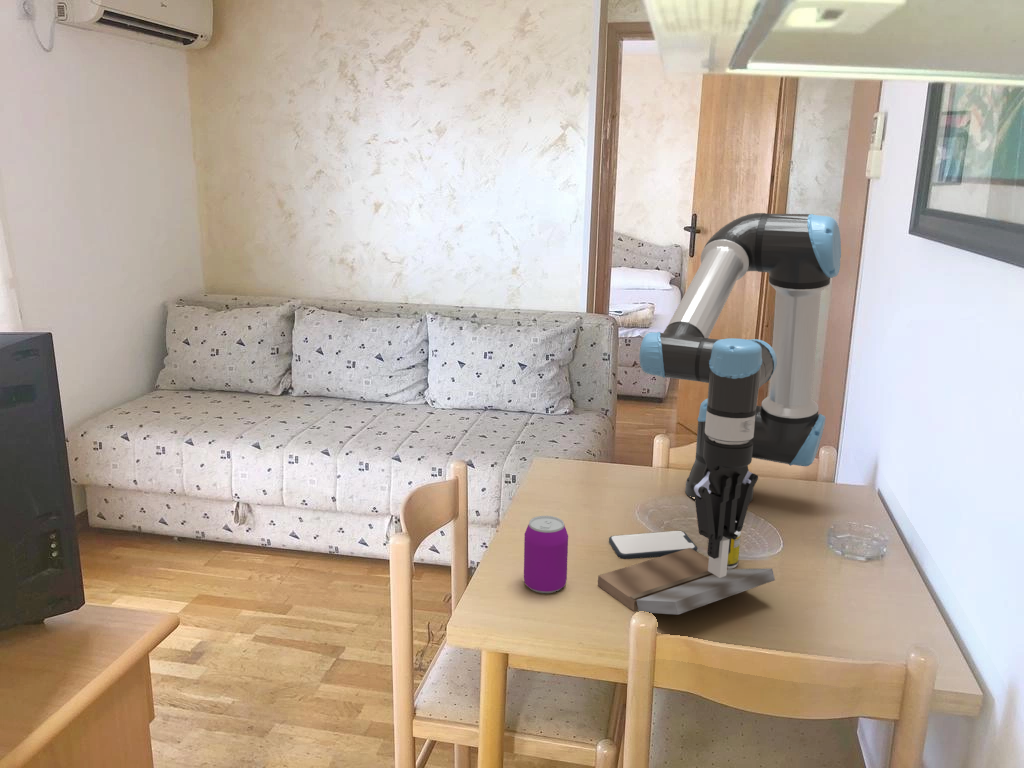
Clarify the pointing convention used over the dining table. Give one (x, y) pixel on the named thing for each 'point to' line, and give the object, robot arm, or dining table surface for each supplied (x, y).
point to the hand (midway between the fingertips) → (716, 573)
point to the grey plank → (704, 591)
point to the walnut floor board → (654, 576)
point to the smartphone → (650, 544)
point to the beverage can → (545, 554)
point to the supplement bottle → (734, 551)
